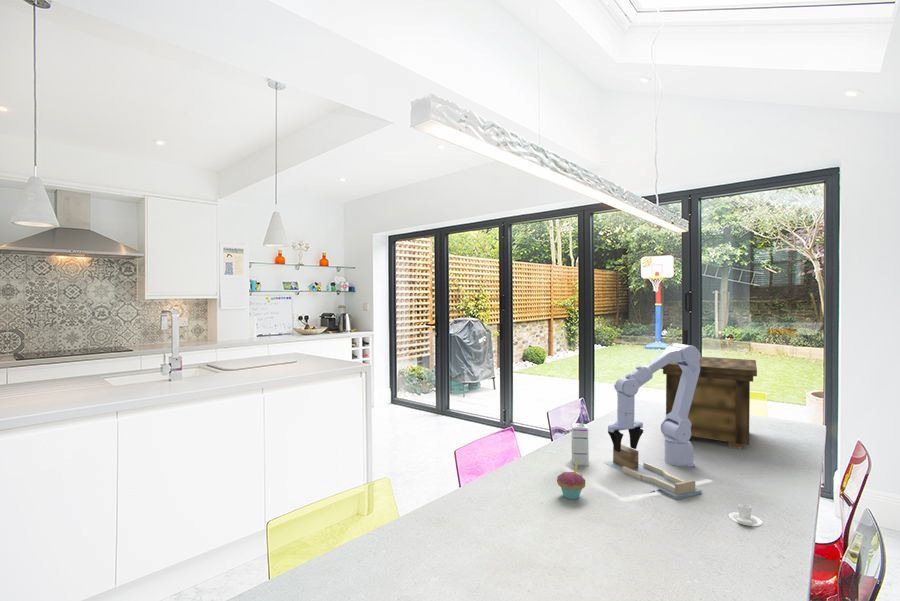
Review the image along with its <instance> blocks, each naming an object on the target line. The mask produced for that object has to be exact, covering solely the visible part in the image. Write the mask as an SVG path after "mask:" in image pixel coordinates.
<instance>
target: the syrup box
mask: <svg viewBox="0 0 900 601" xmlns="http://www.w3.org/2000/svg"><path fill="white" fill-rule="evenodd" d="M577 459H578V465H577V466H586V467H587V466H589V464H590V462H589V427H588V424H587V423H580V422H577V423H575V422H574V423H571V464H572V465H575V464H576V460H577Z"/></svg>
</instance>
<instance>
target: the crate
mask: <svg viewBox="0 0 900 601" xmlns="http://www.w3.org/2000/svg"><path fill="white" fill-rule="evenodd" d="M699 363H700V373H699V377H698V380H697V384H696V388H695V392H694V395H693V399H692V403H691V406H690V410H689V414H688V418H689V420H690V422H691V424H692V425H691V437H695V438H703V439H710V440H716V441H723V442H728V447H730V448H736V449H743V445H745V446H750V402H751V400H750V395H751V394H750V389H751V388H750V387H751V383H750V382H753V383H754V377H758V369H757V361H756V359H745V358H729V357H716V356H715V357H714V356H713V357H712V356H700V360H699ZM660 370H662V375H666V376H665V377H666V378H665V380H666V381H665V382H666V384H665V398H666V399H665V416H666V415H667V414H669V413H670V412H671V411H672V408H673V404H674V400H675V397H676V393H677V389H678V386H679V382H680V378H681V375H682V369H681V368H680V366H679V365H678V364H677V363H676V362H670V363H669V364H667V365H666V366H664V367H662V368H661V369H660ZM677 423H678V422H677Z"/></svg>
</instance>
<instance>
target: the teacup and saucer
mask: <svg viewBox="0 0 900 601" xmlns="http://www.w3.org/2000/svg"><path fill="white" fill-rule="evenodd" d="M737 506H738V509H737V510H738V511H732V512H730V513H728V518H729V519H730V520H731V521H733V522H734V523H737V524H740V525H743V526H748V527H760V526H762V525H763V520H762V519H760V518H759V517H758V516H755V515H753V514H752V510H753V509H752V507H753V506H751V505H750V504H747V503H738V505H737ZM734 516H739V517H736V518H734ZM751 518H752V519H753V520H756V522H757V523H754V522H753V521H752V520H751Z"/></svg>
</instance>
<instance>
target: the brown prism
mask: <svg viewBox="0 0 900 601" xmlns="http://www.w3.org/2000/svg"><path fill="white" fill-rule="evenodd" d="M612 449H613V450H612V461H613V462H614V463H616V464H618V465H620V466H622V467H623V466H625V467H627V468H630V469H636V468H638V464H639V450H637V449H633V448H631V447H628V446H626V445H624V444H622V443H621V450H620V452H617V451H615V450H614V446H613V445H612Z"/></svg>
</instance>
